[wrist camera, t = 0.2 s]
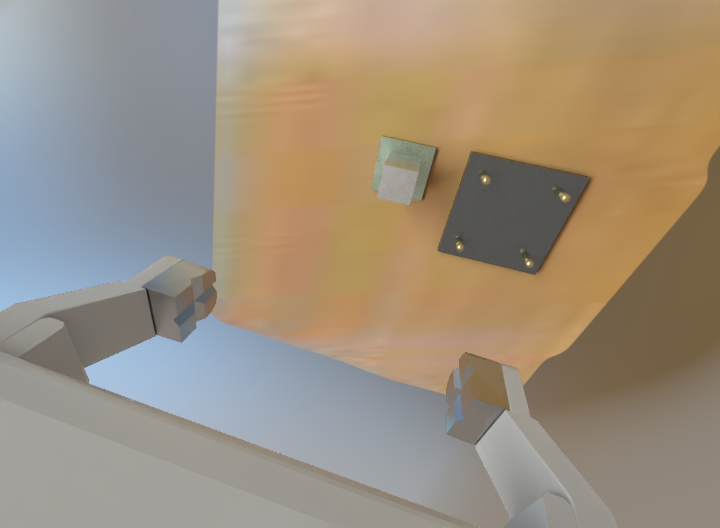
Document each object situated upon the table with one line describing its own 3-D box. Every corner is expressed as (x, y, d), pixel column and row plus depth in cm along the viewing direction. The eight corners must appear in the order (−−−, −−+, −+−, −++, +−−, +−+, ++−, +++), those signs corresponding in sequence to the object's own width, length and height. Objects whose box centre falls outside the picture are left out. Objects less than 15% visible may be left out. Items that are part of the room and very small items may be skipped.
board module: (382, 135, 52) (372, 146, 43) (436, 147, 51) (437, 160, 43) (371, 188, 56) (361, 207, 48) (421, 199, 56) (419, 220, 48)
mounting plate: (471, 151, 50) (474, 157, 47) (586, 176, 49) (598, 184, 45) (437, 248, 60) (438, 259, 56) (533, 271, 58) (539, 283, 55)
